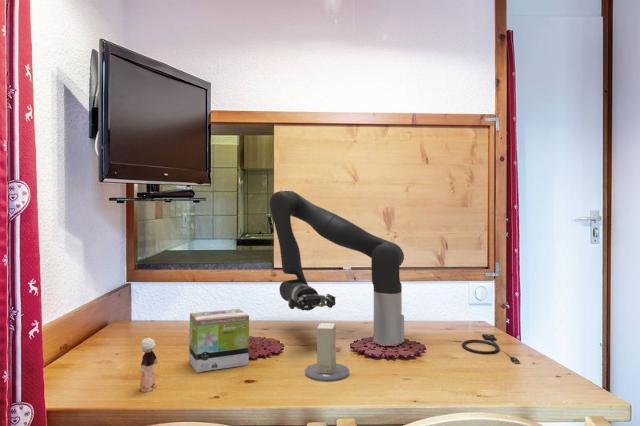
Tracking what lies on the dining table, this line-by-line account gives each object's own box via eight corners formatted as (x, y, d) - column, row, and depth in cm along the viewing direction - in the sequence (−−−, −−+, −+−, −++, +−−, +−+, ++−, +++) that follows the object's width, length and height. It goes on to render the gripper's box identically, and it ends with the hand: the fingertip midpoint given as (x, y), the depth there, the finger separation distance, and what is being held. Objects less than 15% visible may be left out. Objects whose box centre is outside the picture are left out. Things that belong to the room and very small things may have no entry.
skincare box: (332, 374, 122) (332, 328, 122) (316, 373, 123) (316, 328, 123) (336, 366, 128) (336, 322, 128) (320, 365, 129) (320, 322, 129)
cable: (472, 364, 134) (472, 359, 134) (453, 337, 162) (453, 332, 162) (521, 365, 133) (521, 360, 133) (493, 338, 161) (493, 333, 161)
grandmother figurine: (144, 383, 118) (144, 334, 118) (159, 383, 118) (159, 333, 118) (135, 395, 110) (134, 343, 110) (151, 395, 110) (151, 342, 110)
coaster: (341, 363, 133) (341, 361, 133) (355, 378, 121) (355, 375, 121) (300, 367, 130) (300, 364, 129) (311, 383, 118) (311, 380, 118)
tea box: (196, 374, 124) (196, 319, 124) (188, 363, 133) (188, 312, 133) (249, 365, 131) (249, 314, 131) (239, 355, 140) (238, 307, 140)
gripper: (283, 287, 150) (293, 295, 134) (325, 283, 154) (339, 291, 138) (283, 310, 150) (294, 320, 134) (325, 306, 154) (340, 316, 138)
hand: (317, 305), depth 136 cm, fingers open, 8 cm apart
